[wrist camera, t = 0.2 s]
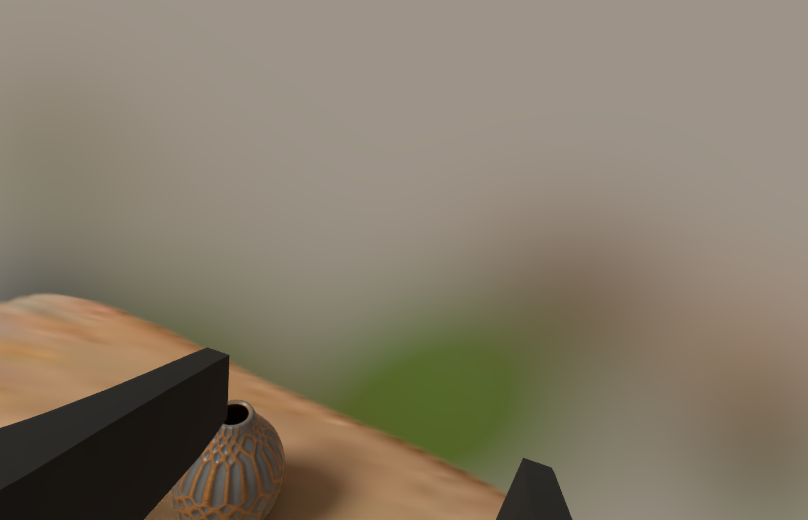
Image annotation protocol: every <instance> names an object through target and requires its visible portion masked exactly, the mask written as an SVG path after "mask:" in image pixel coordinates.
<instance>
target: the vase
mask: <svg viewBox="0 0 808 520" xmlns="http://www.w3.org/2000/svg"><path fill="white" fill-rule="evenodd" d="M284 473H285V455H284V450H283V446H282V443H281V440H280V437H279V435H278V433H277V432H276V430H275V428H274V427H273V426H272V425H271V424H270V423H269V422H268V421H267V420H266V419H264V418H263V417H262V416H260V415H259V414H257V413H256V412H255V410H254V408H253V407H252V406H251V405H250V404H249V403H248V402H245V401H242V400H230V401H228V411H227V419H226V420H225V422H224V423H223V425H222V426H221V428H220V429H219V431H218V432H217V433H216V435H215V436H214V438H213V439H212V441H211V442H210V443H209V445H208V446H207V447H206V449H205V450H204V452H203V453H202V454H201V456H200V457H199V458H198V459H197V460H196V461H195V463H194V464H193V465H192V466H191V467H190V468H189V469H188V471H187V472H186V473H185V474H184V475H183V476H182V477H181V478H180V480H179V481H178V482H177V483H176V484H175V485H174V486H173V487H172V498H173V504H174V507H175V510H176V512H177V515H178V517H179V519H180V520H264V518H265V517H266V516H267V515H268V514H269V512H270V511H271V509H272V508H273V506H274V504H275V503H276V500H277V498H278V496H279V494H280V491H281V488H282V484H283V479H284Z"/></svg>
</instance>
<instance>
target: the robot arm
mask: <svg viewBox="0 0 808 520" xmlns="http://www.w3.org/2000/svg"><path fill="white" fill-rule="evenodd" d="M228 380H229V355H227V354H225V353H222V352H219V351H216V350H213V349H210V348H205V349H202V350H200V351H197V352H195V353H192V354H190V355H187V356H185V357H183V358H180V359H178V360H176V361H173V362H171V363H169V364H166V365H164V366H162V367H159V368H157V369H155V370H152V371H150V372H148V373H145V374H143V375H140V376H138V377H136V378H133V379H131V380H128V381H126V382H124V383H121V384H119V385H116V386H114V387H112V388H109V389H107V390H104V391H102V392H99V393H96V394H94V395H91V396H89V397H86V398H83V399H81V400H78V401H75V402H73V403H70V404H67V405H65V406H62V407H60V408H57V409H54V410H52V411H49V412H46V413H44V414H41V415H38V416H35V417H32V418H29V419H26V420H23V421H20V422H17V423H14V424H11V425H8V426H5V427H2V428H0V520H144V519H145V517H146V516H147V515H148V514H149V513H150V512H151V511H152V510H153V509H154V507H155V506H156V505H157V504H158V503H159V502H160V501H161V500H162V499H163V497H164V496H165V495H166V494H167V493H168V492H169V491H170V490H171V489H172V487H173V486H174V485H175V484H176V483H177V482H178V481H179V480H180V478H181V477H182V476H183V475H184V474H185V473H186V472H187V471H188V469H189V468H190V467H191V466H192V465H193V464H194V463H195V461H196V460H197V459H198V458H199V457H200V456H201V454H202V453H203V452H204V450H205V449H206V447H207V446H208V445H209V443H210V442H211V441H212V439H213V438H214V436H215V435H216V433H217V432H218V431H219V429H220V428H221V426H222V425H223V423H224V422H225V420H226V419H227V411H228ZM496 520H572V517H571V515H570V512H569V510H568V507H567V505H566V503H565V500H564V497H563V495H562V492H561V489H560V486H559V484H558V481H557V478H556V476H555V473H554V471H553V470H552V468H551V467H548V466H545V465H542V464H540V463H536V462H534V461H531V460H528V459H525V458H523V460H522V462H521V464H520V466H519V469H518V471H517V473H516V475H515V478H514V480H513V482H512V484H511V487H510V489H509V491H508V493H507V496H506V498H505V500H504V502H503V505H502V507H501V509H500V512H499V514H498V516H497V518H496Z"/></svg>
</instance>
